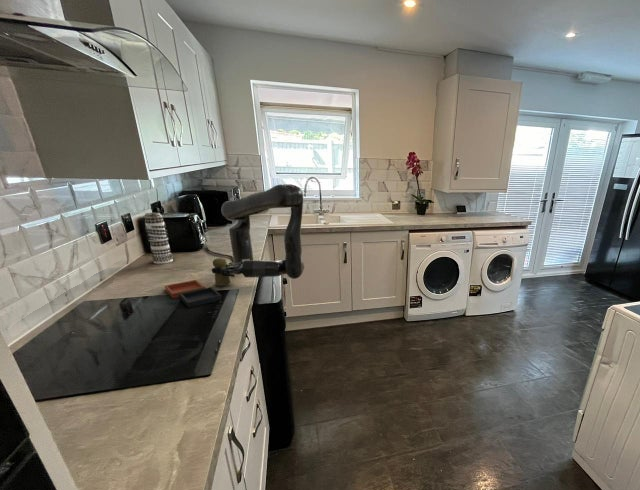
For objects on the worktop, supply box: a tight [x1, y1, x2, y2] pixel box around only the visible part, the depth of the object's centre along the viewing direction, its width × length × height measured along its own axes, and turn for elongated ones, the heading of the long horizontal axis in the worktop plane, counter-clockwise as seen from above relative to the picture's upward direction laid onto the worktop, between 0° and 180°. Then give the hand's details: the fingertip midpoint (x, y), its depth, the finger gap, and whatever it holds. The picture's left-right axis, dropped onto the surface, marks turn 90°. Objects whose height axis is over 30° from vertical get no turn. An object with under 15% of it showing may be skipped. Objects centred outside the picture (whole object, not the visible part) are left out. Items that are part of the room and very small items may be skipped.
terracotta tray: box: [164, 279, 206, 299], centre depth 133 cm, size 12×12×2 cm
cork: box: [212, 257, 232, 286], centre depth 139 cm, size 6×6×11 cm
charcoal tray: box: [179, 286, 223, 309], centre depth 126 cm, size 12×12×2 cm
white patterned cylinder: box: [143, 212, 174, 265], centre depth 165 cm, size 9×9×25 cm
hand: (214, 268), depth 138 cm, fingers closed on cork, 4 cm apart
